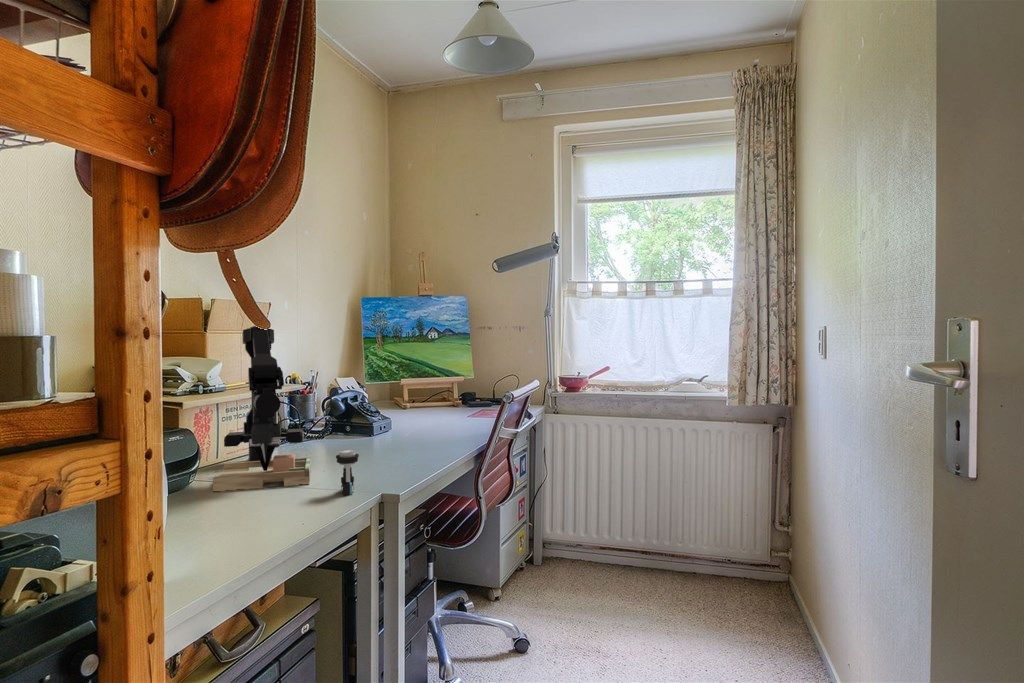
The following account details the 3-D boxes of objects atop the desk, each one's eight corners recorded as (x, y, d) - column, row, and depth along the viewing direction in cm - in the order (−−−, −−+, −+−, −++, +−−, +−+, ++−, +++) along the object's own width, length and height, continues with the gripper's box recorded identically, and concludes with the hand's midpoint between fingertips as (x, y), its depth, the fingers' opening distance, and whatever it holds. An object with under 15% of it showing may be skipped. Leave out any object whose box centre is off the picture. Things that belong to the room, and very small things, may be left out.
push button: (335, 489, 142) (334, 448, 142) (357, 487, 144) (357, 447, 144) (336, 496, 136) (336, 454, 135) (360, 494, 138) (359, 452, 137)
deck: (224, 476, 155) (224, 461, 155) (310, 469, 162) (310, 455, 162) (213, 492, 140) (213, 475, 140) (309, 484, 146) (309, 468, 146)
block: (274, 469, 154) (274, 454, 154) (295, 468, 155) (294, 453, 155) (273, 474, 149) (272, 458, 149) (293, 472, 150) (293, 457, 150)
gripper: (219, 416, 140) (220, 480, 140) (301, 413, 145) (301, 475, 146) (227, 410, 150) (228, 470, 151) (303, 407, 156) (303, 465, 156)
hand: (265, 470), depth 151 cm, fingers closed
